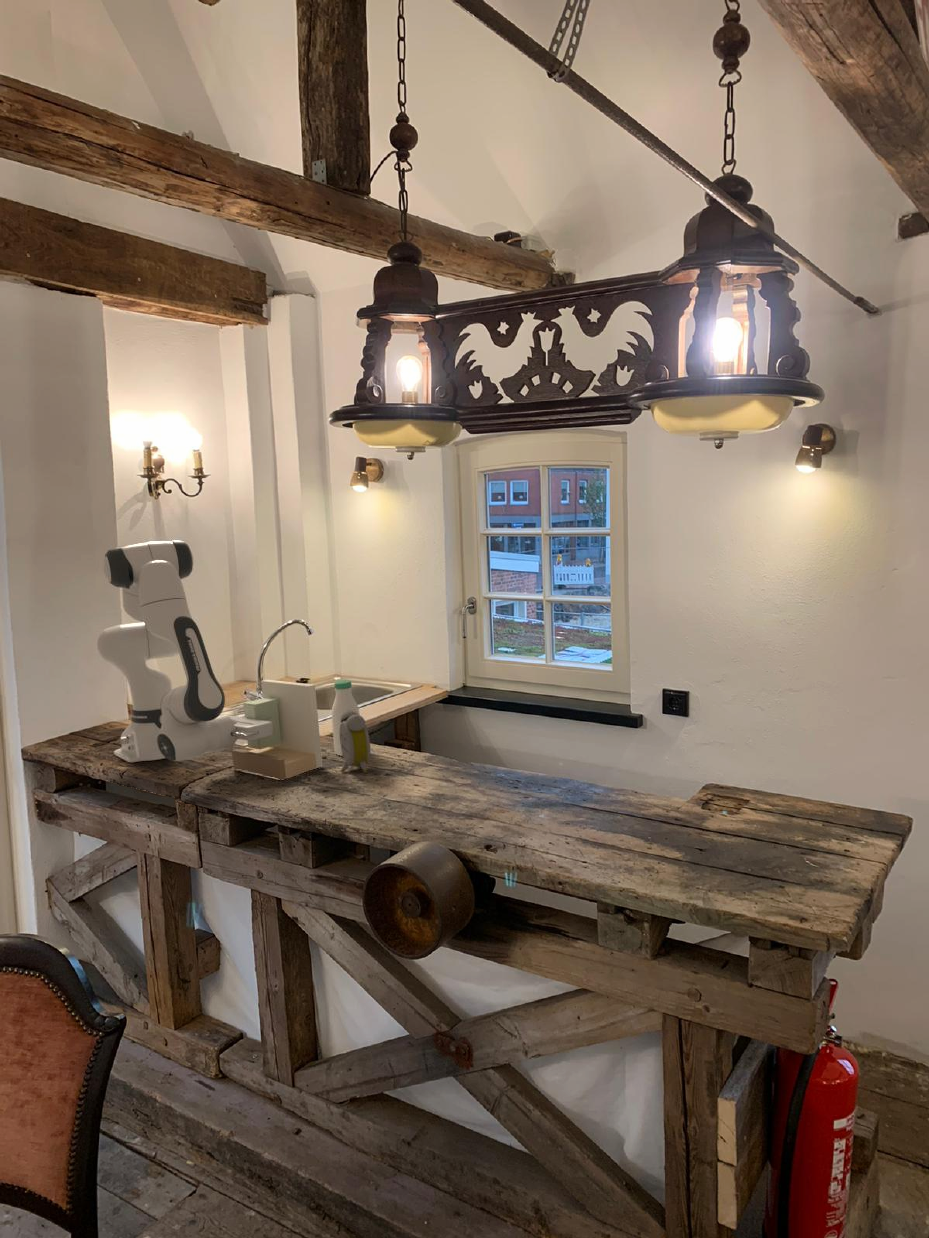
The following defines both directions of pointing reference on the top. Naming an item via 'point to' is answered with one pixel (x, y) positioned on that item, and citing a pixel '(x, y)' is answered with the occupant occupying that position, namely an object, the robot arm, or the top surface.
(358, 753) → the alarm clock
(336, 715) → the milk bottle
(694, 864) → the top surface
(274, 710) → the cabinet
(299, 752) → the wall board
